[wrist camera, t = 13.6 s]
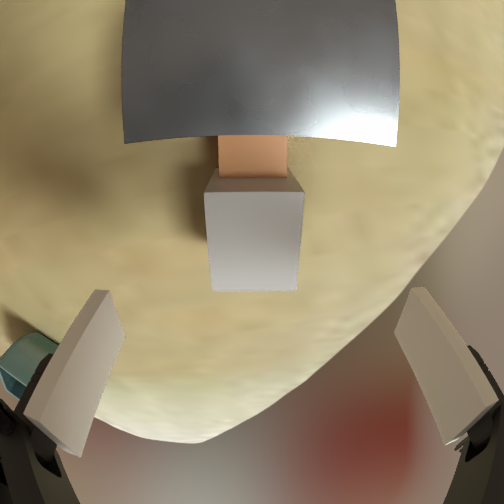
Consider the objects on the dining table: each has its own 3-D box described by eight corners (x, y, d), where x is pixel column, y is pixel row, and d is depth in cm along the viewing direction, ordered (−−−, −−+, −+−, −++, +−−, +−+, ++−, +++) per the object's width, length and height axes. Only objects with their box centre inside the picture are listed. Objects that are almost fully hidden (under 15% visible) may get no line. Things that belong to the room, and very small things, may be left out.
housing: (185, 20, 13) (132, -43, 4) (325, 22, 13) (389, -35, 4) (185, 125, 17) (124, 144, 8) (324, 126, 17) (395, 146, 8)
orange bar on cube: (216, -32, 11) (205, -73, 6) (287, -31, 11) (301, -72, 6) (220, 244, 22) (211, 291, 16) (284, 243, 22) (296, 290, 16)
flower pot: (26, 314, 26) (-6, 362, 18) (79, 348, 28) (53, 403, 20) (29, 347, 29) (5, 390, 21) (75, 376, 32) (55, 423, 24)
